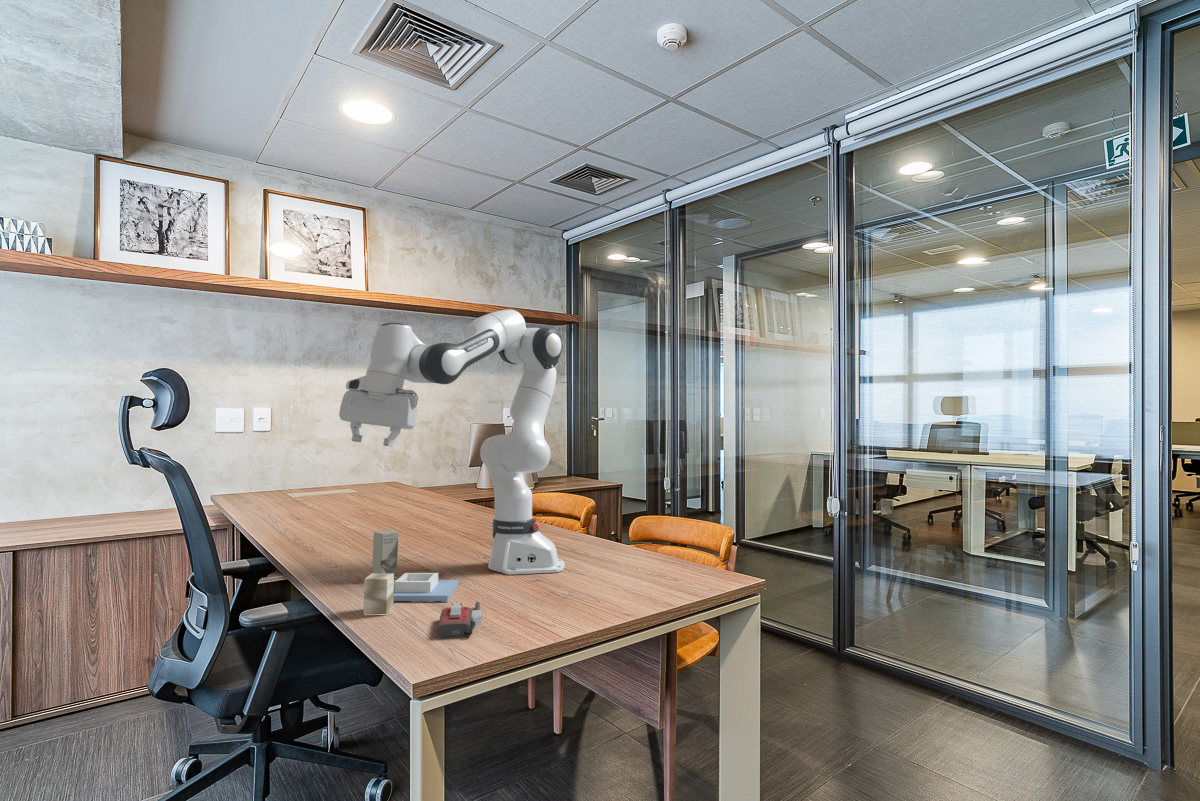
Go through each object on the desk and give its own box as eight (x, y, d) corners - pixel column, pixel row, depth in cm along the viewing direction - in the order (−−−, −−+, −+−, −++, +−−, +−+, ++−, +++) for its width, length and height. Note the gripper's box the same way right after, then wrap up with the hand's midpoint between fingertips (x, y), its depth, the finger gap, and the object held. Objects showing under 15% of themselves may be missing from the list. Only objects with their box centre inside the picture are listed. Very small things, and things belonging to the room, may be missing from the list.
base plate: (458, 585, 158) (459, 570, 158) (447, 602, 144) (447, 585, 144) (389, 585, 157) (389, 570, 157) (371, 602, 143) (371, 585, 143)
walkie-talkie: (481, 640, 121) (482, 609, 141) (481, 618, 121) (482, 589, 141) (435, 642, 119) (443, 610, 139) (436, 619, 119) (444, 591, 139)
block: (393, 608, 139) (393, 573, 139) (386, 615, 134) (387, 579, 134) (371, 608, 139) (371, 573, 139) (363, 615, 134) (364, 579, 134)
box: (380, 582, 160) (381, 534, 160) (371, 580, 162) (372, 532, 163) (398, 578, 164) (399, 531, 164) (388, 576, 166) (389, 529, 167)
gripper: (427, 393, 144) (416, 450, 142) (359, 386, 151) (348, 441, 149) (410, 387, 138) (399, 447, 136) (341, 381, 146) (329, 437, 144)
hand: (371, 444), depth 143 cm, fingers open, 8 cm apart
